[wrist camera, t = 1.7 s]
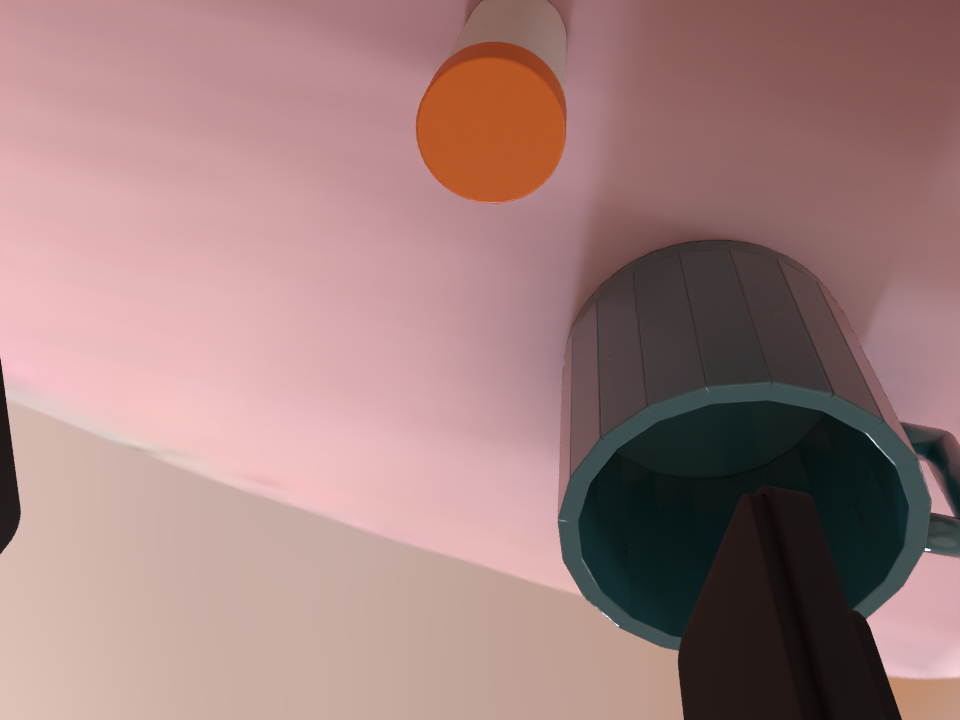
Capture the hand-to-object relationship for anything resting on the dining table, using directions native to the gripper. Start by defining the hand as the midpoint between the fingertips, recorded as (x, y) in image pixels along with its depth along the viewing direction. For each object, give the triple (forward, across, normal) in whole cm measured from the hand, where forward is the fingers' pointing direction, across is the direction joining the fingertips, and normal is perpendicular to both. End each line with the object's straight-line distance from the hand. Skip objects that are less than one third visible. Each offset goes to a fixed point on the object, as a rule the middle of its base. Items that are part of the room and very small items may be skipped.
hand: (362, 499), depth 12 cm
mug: (+21, -11, +9) cm, 25 cm away
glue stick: (+20, 0, -1) cm, 21 cm away
